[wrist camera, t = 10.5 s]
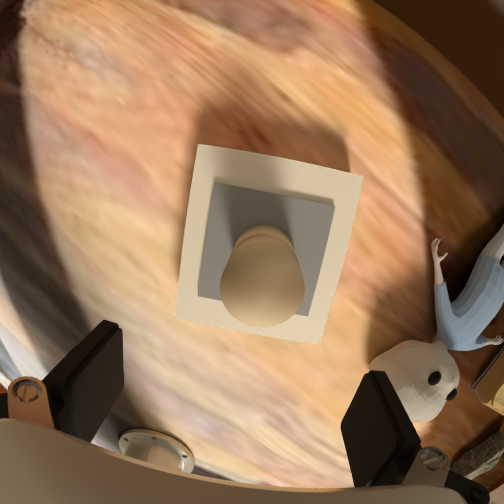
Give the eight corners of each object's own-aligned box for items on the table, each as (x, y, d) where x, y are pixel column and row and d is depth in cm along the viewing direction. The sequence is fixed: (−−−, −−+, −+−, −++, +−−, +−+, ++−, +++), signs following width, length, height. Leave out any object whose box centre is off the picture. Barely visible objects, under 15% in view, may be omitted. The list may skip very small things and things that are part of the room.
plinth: (313, 324, 32) (320, 346, 28) (185, 301, 32) (173, 320, 28) (350, 175, 28) (365, 176, 24) (207, 147, 28) (196, 143, 24)
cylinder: (287, 286, 26) (294, 332, 19) (230, 276, 26) (214, 319, 19) (299, 229, 25) (313, 256, 17) (238, 219, 25) (225, 241, 17)
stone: (456, 457, 44) (450, 493, 37) (448, 444, 45) (442, 482, 37) (509, 439, 36) (509, 476, 28) (505, 424, 36) (505, 464, 28)
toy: (567, 276, 23) (435, 460, 26) (522, 263, 33) (405, 419, 35) (518, 154, 20) (337, 403, 23) (463, 160, 30) (312, 353, 33)
